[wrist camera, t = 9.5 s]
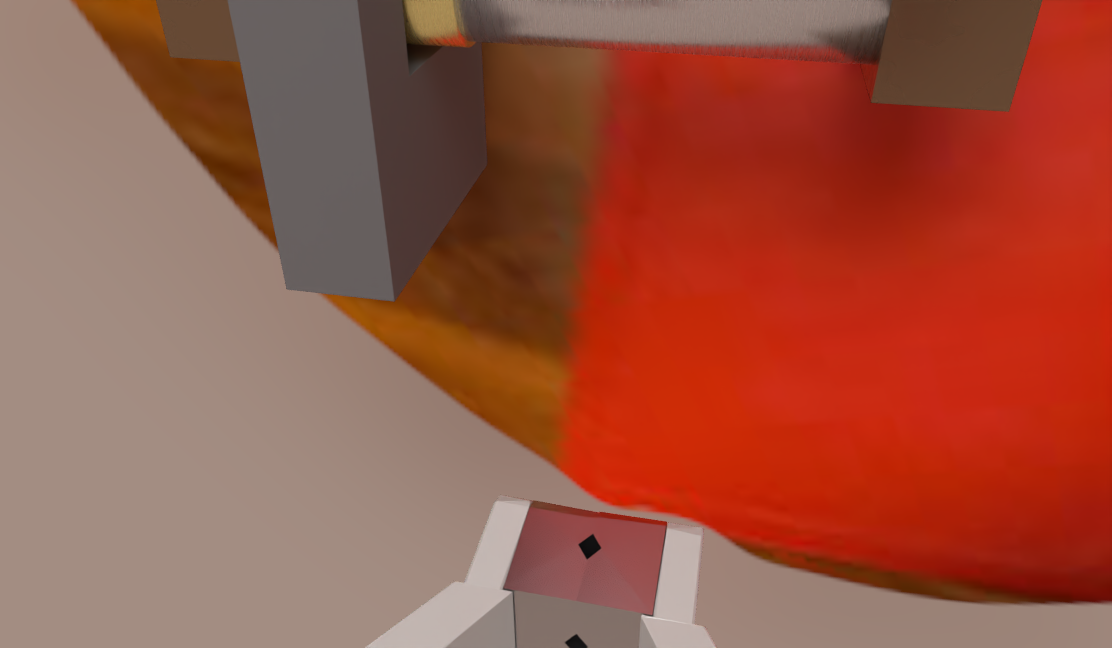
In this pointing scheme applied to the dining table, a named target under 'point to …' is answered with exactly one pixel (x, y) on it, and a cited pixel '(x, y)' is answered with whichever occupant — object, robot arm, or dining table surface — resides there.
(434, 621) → the robot arm
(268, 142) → the grey flat block
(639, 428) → the dining table surface
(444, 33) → the rod stand
